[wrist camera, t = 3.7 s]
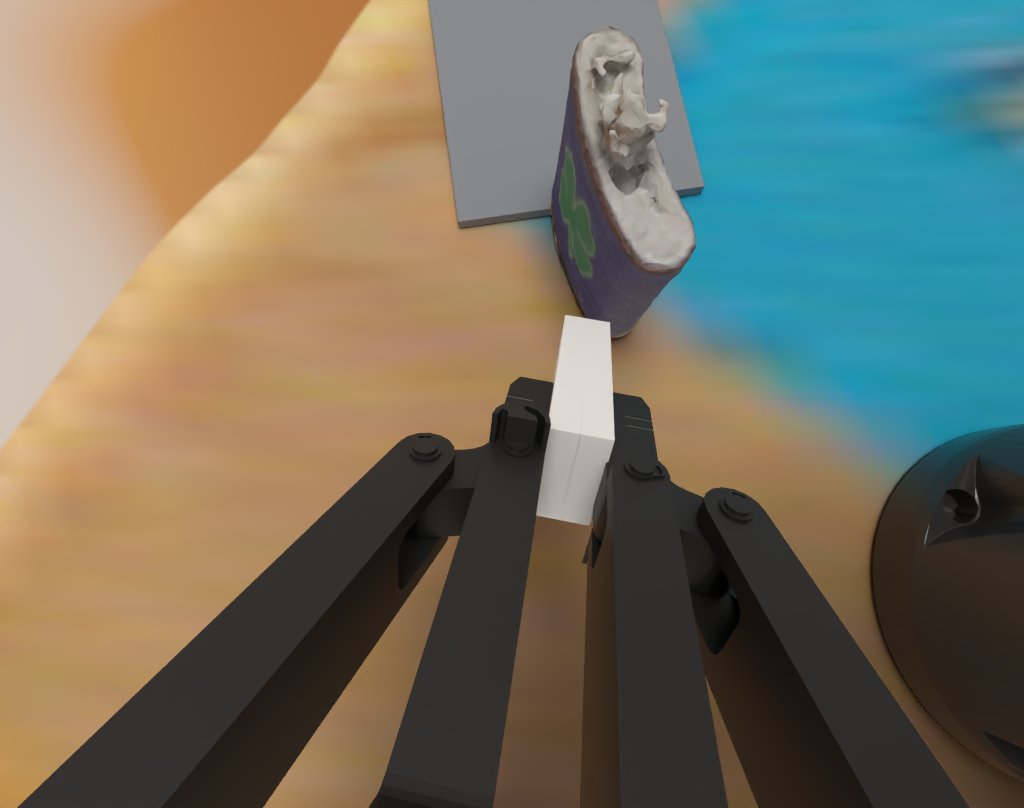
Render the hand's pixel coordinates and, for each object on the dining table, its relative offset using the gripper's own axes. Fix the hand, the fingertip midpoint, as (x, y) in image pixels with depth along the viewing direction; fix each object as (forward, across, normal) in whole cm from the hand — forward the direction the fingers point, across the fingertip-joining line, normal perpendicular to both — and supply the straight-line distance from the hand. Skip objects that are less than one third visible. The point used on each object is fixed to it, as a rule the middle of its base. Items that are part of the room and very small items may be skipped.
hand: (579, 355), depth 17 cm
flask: (+10, 0, 0) cm, 10 cm away
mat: (+18, -4, +8) cm, 20 cm away
